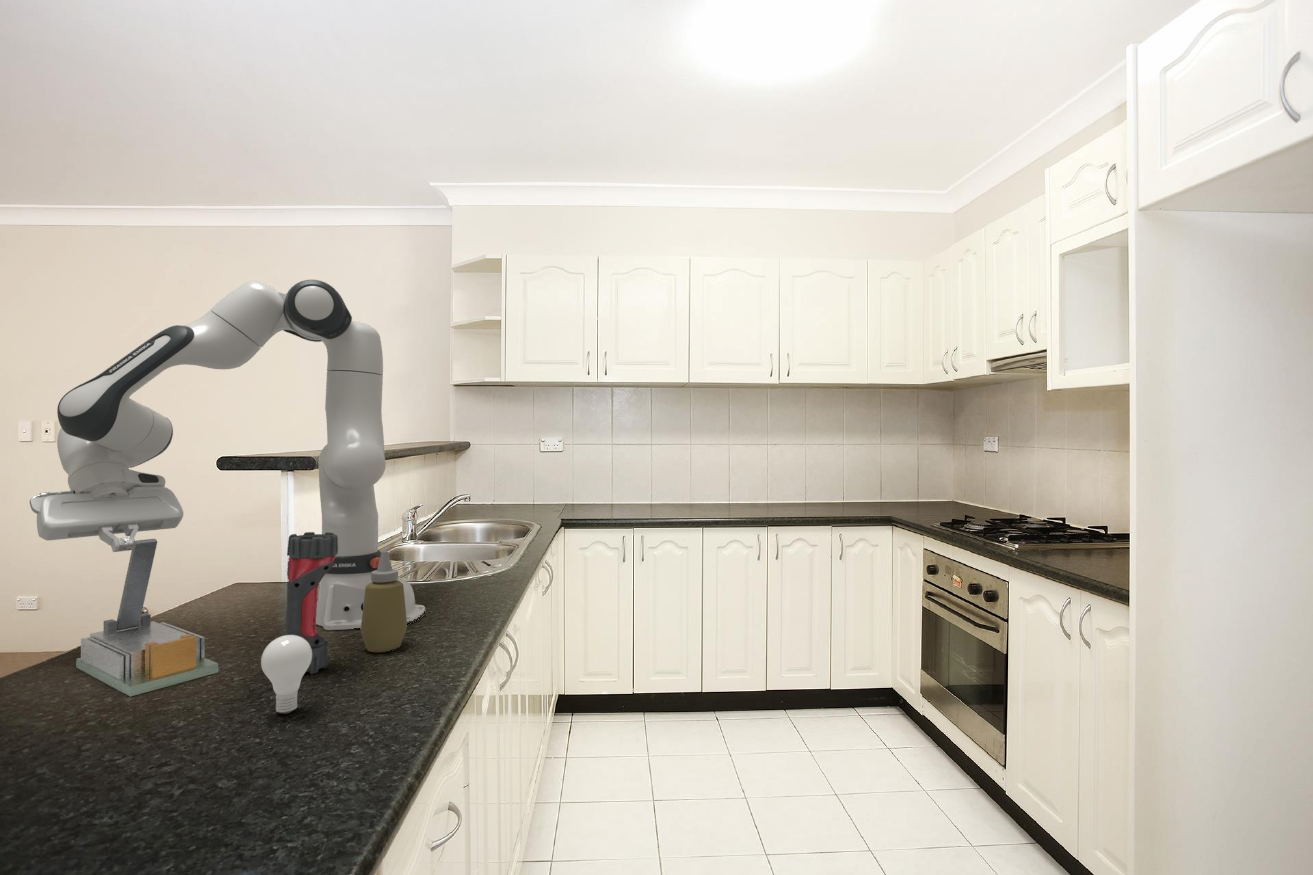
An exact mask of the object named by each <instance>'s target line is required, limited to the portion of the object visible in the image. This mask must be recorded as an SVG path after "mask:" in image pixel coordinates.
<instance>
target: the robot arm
mask: <svg viewBox="0 0 1313 875" xmlns="http://www.w3.org/2000/svg"><path fill="white" fill-rule="evenodd" d="M282 331H283V332H286V333H287V334H289V335H290V334H291V335H293V336H296V337H298V338H300V339H303V340H305V341H310V342H314V343H320V342H322V343H323V344H324V346H325V349H326V352H327V365H326V367H327V368H326V382H325V383H326V385H325V387H326V388H325V402H324V403H325V406H324V407H325V408H324V410H325V418H326V433H327V434H326V435H327V436H326V437H327V438H326V439H327V444H325V445H324V446H323V448H322V450H320V454H319V455H318V456H319V457H318V463H317V464H318V482H319V484H318V486H319V497H320V498H319V499H320V500H319V501H320V509H321V510H320V511H321V534H325V533H326V532H330V533H334V534H336V535H337V536H338V554H337V555H336V556H335V559H334V560H335V562H334V565H333V566H332V568H331V569H330V570H329V571H328V572H327V573H326V574H325V575H324V576H323V578H322V579H321V581H320V583H319V589H318V590H319V591H318V595H317V611H316V612H317V615H316V626H320V627H322V628H323V629H324V630H325V631H336V630H337V631H338V630H355V629H354V628H360V629H361V622H362V614H363V605H364V596H365V588H366V586H367V585H368V584H369V583H371V582H372V581H371V572H372V571H375V570H377V569H378V565H379V561H380V556H381V552H382V551H380V550H379V512H378V509H377V502H376V495H375V494H376V493H375V487H374V485H375V484H377V483H378V482H379V481H380V480H381V479H382V478H383V475H384V473H385V470H386V464H387V462H386V456H385V440H384V439H385V438H384V426H383V414H382V410H383V409H382V406H383V405H382V403H383V401H382V400H383V385H384V384H383V380H384V376H383V375H384V356H383V348H382V347H383V346H382V341H381V336H380V333H379V332H378V330H377V329H376V328H374V327H372V326H371V325H369V324H367V323H363V322H360V321H354V320H353V316H352V315H351V312H350V310H349V309H348V307H347V305H346V303H345V301H344V299H343V298H342V296H341V294H340V293H339V291H337V290H336V289H335V288H334V287H333V286H332V285H330V284H329V283H327V282H326V281H322V280H318V279H306V280H301V281H299V282H297V283H295V284H294V285H293V286H291V288H290V289H288V291H287V292H286V293H283V292H281V291H277V289H275V288H274V287H272V286H271V285H268V284H267V283H265V282H261V281H257V280H252V281H250V280H249V281H246V282H244V283H243V284H241V285H240V286H238V287H237V288H235V289H234V290H232V291H230V293H228V294H227V295H225V296H224V297H223V298H222V299H221V300H220V301H218V302H217V303H216V304H215V305H214V306H213V307H212V308H210V309H209V310H208V311H207V312H206V313H205V314H204V315H203V316H201V317H200V318H198V319H196V320H194V321H192V322H190V323H187V324H184V325H178V324H177V325H176V324H175V325H172V326H169V327H167V328H165V329H163V330H161V331H159V332H157V333H156V334H155V335H153V336H152V337H150V338H149V339H147V340H146V341H144V342H143V343H142V344H139V346H137V347H135V349H133V350H132V351H130V352H129V353H128V354H126V355H124V356H123V357H121V358H120V359H119V360H117V361H116V362H115V363H114V364H112V365H111V366H109V367H108V368H106V369H105V370H104V371H102V372H101V373H99V374H98V375H96V376H95V377H93V378H91V379H89V380H86V381H85V382H83V383H80V384H79V385H77V386H75V387H73V388H72V389H70V390H69V391H67V392H66V393H65V394H64V395H62V397H61V399H60V400H59V402H58V404H57V409H56V410H57V412H56V413H57V418H58V420H57V421H58V423H59V425H60V429H59V430H58V435H57V442H56V445H57V452H58V457H59V460H60V463H61V464H60V465H61V466H62V469H63V471H64V472H66V474H67V475H68V476H67V483H68V484H67V485H68V488H69V490H66V491H65V490H64V491H57V492H49V491H48V492H47V491H46V492H40V493H39V494H37V495H35V496H33V497H31V498H30V500H29V505H30V508H31V511H32V512H33V513H34V514H36V529H37V530H36V531H37V534H38V537H39V538H41V539H43V540H45V541H58V540H66V539H78V538H86V537H87V538H88V537H89V538H90V537H99V540H101V541H102V542H104V543H106V544H107V545H108V546H110V547H111V549H112V550H111V551H112V552H113V553H118V552H127V551H128V552H129V551H132V547H133V542H134V541H136V539H135V537H136V535H137V533H139V532H150V531H157V530H169V529H170V530H171V529H176V528H177V527H178V526H179V524H181V522H182V520H183V519H184V510H183V507H182V505H181V503H180V501H179V500H178V498H177V496H176V494H175V493H174V491H172V489H169V488H168V487H166V483H167V482H166V479H165V477H164V476H162V475H158V474H153V473H152V474H151V473H147V472H141V471H137V470H133V469H131V468H135V467H138V466H140V465H142V464H145V463H146V462H149V461H151V460H153V459H154V458H156V457H158V456H160V455H162V454H163V453H164V452H165V451H166V450H167V449H168V448H169V446H170V445H171V443H172V439H173V437H174V428H173V424H172V422H171V420H170V419H169V418H168V417H167V416H164V415H163V414H160V413H159V412H157V411H155V410H153V409H152V408H150V407H148V406H145V405H143V404H141V403H139V402H137V401H135V400H134V399H132V398H130V397H131V396H132V395H133V394H135V393H136V392H137V391H138V390H140V389H141V388H142V387H143V386H145V385H146V384H148V383H149V382H151V381H152V380H153V379H155V378H156V377H157V376H159V375H160V374H161V373H162V372H164V371H165V370H167V369H170V368H172V367H176V366H181V365H186V366H187V365H189V366H190V365H191V366H198V367H203V368H208V369H213V370H231V369H236V368H240V367H242V366H243V365H245V364H246V363H248V362H249V361H250V360H251V359H252V358H253V357H255V355H256V354H257V353H258V352H259V351H260V350H261V348H264V346H265V345H266V343H268V342H269V341H270V339H271V338H272V337H274V336H275V335H276V334H277V333H279V332H282ZM119 534H124V535H125V537H117V536H116V535H119ZM397 580H398V581H400V582H401V583H403V586H404V597H405V607H406V617H407V622H409V621H413V620H414V619H417V618H418V617H420V615H422V614H423V613H424V611H425V612H426V607H425V605H423V604H416V599H415V593H414V589H413V587H412V585H411V583H409V582H408V581H406V580H405V579H403V578H402V577H400V576H399V575H398V579H397Z"/></svg>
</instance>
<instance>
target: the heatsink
mask: <svg viewBox="0 0 1313 875" xmlns="http://www.w3.org/2000/svg"><path fill="white" fill-rule="evenodd" d="M151 617H152V615H151V614H149V613H147V612H145V613H143V612H142V614H141V618H140V623H139V626H138V627H133V628H128V629H123V630H118V631H117V619H116V620H115V619H113V618H111V619H105V620H103V630H102V631H98V632H92V633H90V634H89V636H88V637H86V638H85V637H82V638H80V657H78V658H76V659H75V662H76V663H75V664H76V666H75V668H76V669H78V670H80V671H82V672H84V673H86V674H87V675H89V676H90V677H92V678H95V679H97V680H99V681H100V682H102V683H104V684H106V685H108V686H110V687H111V688H113V689H116V690H117V691H119V692H121V693H123V694H125V695H127V696H129V697H133V696H138V695H142V694H145V693H149V692H152V691H156V690H160V689H163V688H166V687H170V686H174V685H178V684H181V683H182V684H183V683H186V682H189V681H192V680H196V679H199V678H203V677H206V676H209V675H215V674H218V673H219V663H218V662H217V661H213V660H212V659H208V658H206V657H205V655H206V653H205V650H206V649H205V648H206V647H205V646H206V644H205V642H206V640H205V639H206V637H205V636H202V635H200V634H196V633H194V632H191V631H189V630H185V629H183V628H180V627H179V626H175V625H172V624H170V623H166V622H164V621H162V622H156V621H154V620H153V621H151V619H152V618H151ZM83 646H84V647H83Z"/></svg>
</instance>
